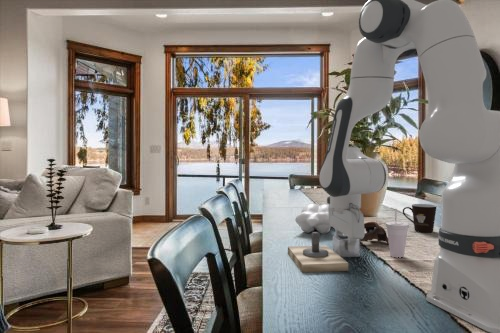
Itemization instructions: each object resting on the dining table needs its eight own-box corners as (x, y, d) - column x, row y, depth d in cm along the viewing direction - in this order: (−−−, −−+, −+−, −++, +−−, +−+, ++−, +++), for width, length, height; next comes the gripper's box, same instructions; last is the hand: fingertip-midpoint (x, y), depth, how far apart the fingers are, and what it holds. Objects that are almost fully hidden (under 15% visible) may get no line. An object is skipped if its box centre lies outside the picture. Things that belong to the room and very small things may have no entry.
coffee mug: (441, 232, 139) (441, 206, 139) (424, 234, 136) (424, 207, 135) (417, 226, 150) (417, 202, 149) (400, 228, 147) (401, 203, 146)
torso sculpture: (302, 227, 160) (289, 234, 132) (302, 203, 161) (290, 205, 132) (339, 229, 156) (334, 237, 127) (339, 204, 156) (335, 206, 128)
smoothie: (380, 254, 109) (380, 207, 109) (397, 252, 111) (398, 206, 111) (396, 260, 103) (396, 210, 103) (413, 258, 105) (414, 209, 105)
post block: (348, 270, 94) (348, 239, 94) (302, 272, 93) (302, 241, 93) (326, 251, 112) (326, 226, 112) (287, 253, 111) (287, 227, 111)
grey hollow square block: (359, 256, 107) (359, 239, 107) (339, 257, 106) (339, 240, 106) (351, 251, 113) (351, 235, 113) (332, 251, 112) (332, 235, 112)
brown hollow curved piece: (394, 248, 118) (385, 227, 116) (367, 260, 120) (357, 239, 118) (384, 231, 129) (374, 212, 128) (359, 242, 131) (349, 223, 129)
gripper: (370, 206, 99) (370, 256, 100) (343, 197, 120) (343, 239, 120) (348, 206, 99) (347, 257, 99) (324, 197, 119) (324, 239, 119)
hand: (345, 247), depth 110 cm, fingers open, 7 cm apart
